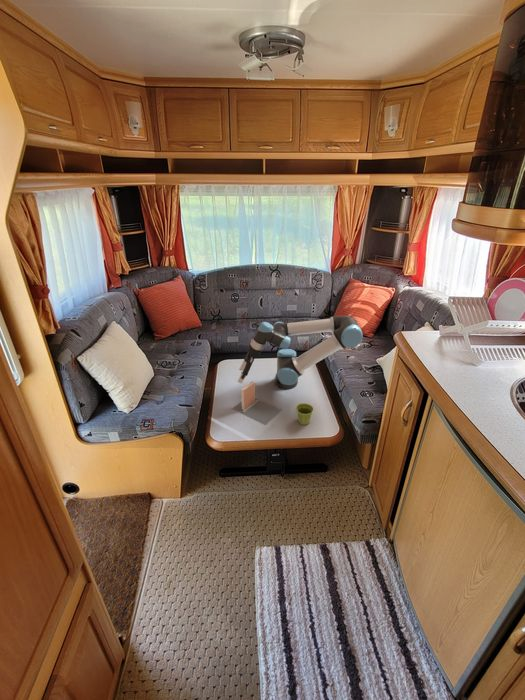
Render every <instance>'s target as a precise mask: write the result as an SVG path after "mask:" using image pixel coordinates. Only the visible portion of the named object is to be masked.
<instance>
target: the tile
mask: <svg viewBox="0 0 525 700" xmlns="http://www.w3.org/2000/svg"><path fill="white" fill-rule="evenodd" d="M255 387H256V385H255V381H253V380H251V381H250V382H249V383H247V384H245V385H244V386H242V388H241V389H240V394H241V398H240V399H241V401H242V410H245V409H246V408H247V407H249V406H250V405H251V404H252V403H254V402H255V398H256V397H255V396H256V395H255V394H256V391H255V389H256V388H255Z"/></svg>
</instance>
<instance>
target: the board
mask: <svg viewBox="0 0 525 700" xmlns="http://www.w3.org/2000/svg"><path fill="white" fill-rule="evenodd" d="M231 409H232V410H234V411H236V412H237V413H239V414H242V415H243V416H246V417H248V418H250V419H253V420H254V421H256V422H259V423H260V424H261V425H265V426H266V425H268V423H270V422H271V421H272V420H273V419H274V418H275V417H276V416H277V415H279V413H280V412H282V411H283V409H282V408H278V407H277V406H275V405H272V404H270V403H267V402H266V401H264V400H261V399H259V398H256V397H255V402H254V403H252V404H251V405H250V406H249V407H247V408H246V409H245V410H242V400H241V401H240V402H239V403H237V404H236V405H234V406H233V407H232V408H231Z"/></svg>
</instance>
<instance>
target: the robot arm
mask: <svg viewBox="0 0 525 700" xmlns="http://www.w3.org/2000/svg"><path fill="white" fill-rule="evenodd" d="M329 332H331V333H332V334H331V336H329V337H327V338H326V339H324V340H323V341H321V342H320V343H318V344H316V345H315V346H313V347H312V348H310V349H308V350H307V351H305V352H303V353H302V354H301V355H299V356H298V357H297V351H295V350H294V349H292V348H289V346H290V344H291V341H292V339H291V337H290V336H297V335H309V334H319V333H329ZM363 335H364V334H363V331H362V329H361V327H360V325H359V324H358V322H357V319H355V318H354V317H352V316H349V315H337V316H331V317H329V318H323V319H315V320H306V321H296V322H289V323H288V322H287V323H284V322H282V321H276V322H274V324H273V325H272V324H271V323H270V322H268V321H262V322H260V325H259V326H258V328H257V330H256V332H255V334H254V336H253V338H251V340H250V344H249V345H248V348H247V353H246V355H245V356H244V360H243V362H242V363H241V365H240V367H239V368H238V370H239V371H241V372H240V373H241V374H240V376H239V378H238V380H237V382H238V383H240V384H243V382H244V380H245V378H246V377H247V376H248V374H249V372H250V370H251V367H252V366H253V363H254V361H255V357H259V356H260V354H261V352H262V351H263V349H264V348H265V345H266V343H269V344H271V345H273V346H275V347H277V348H280V349H279V350H278V351H277V352H276V353H277V354H276V356H277V357H276V365H277V366H276V373H275V376H274V379H273V380H274V381H273V384H274V385H275V386H276V387H277V388H279V389H282V390H283V389H284V390H290V389H293V388H295V387H296V386H297V385H298V381H299V377H301V376H303V375H304V373H305V371H306V370H308V369H309V368H311V367H312V366H314V365H316V364H317V363H320V361H323V360H324V359H325V358H327V357H329V356H331V355H332V354H334V353H335V352H337V351H339V350H345V349H347V348H348V349H352V348H353V349H354V348H356V347H357V346H359V345H360V344H361V342H362V341H363Z"/></svg>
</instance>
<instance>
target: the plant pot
mask: <svg viewBox="0 0 525 700" xmlns="http://www.w3.org/2000/svg"><path fill="white" fill-rule="evenodd" d="M295 410H296V413H297V421H298V424H301V425H303V426H306V425H309V424H310V422H311V418H312V414H313V413H314V410H315V409H314V407H313V406H312V405H311V404H309V403H300V404H297V406H295Z"/></svg>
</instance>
